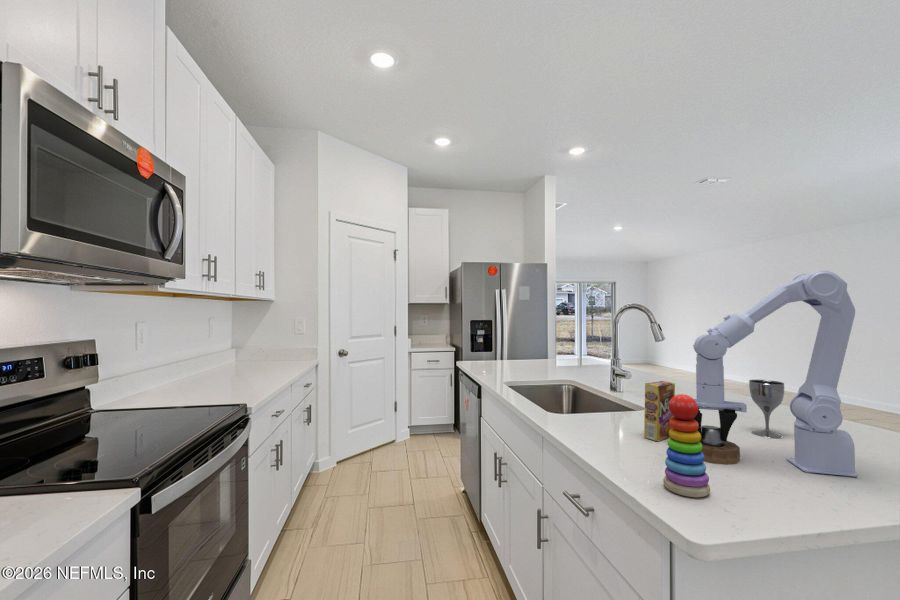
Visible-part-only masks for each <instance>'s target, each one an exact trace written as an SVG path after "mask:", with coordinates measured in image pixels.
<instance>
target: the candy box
mask: <svg viewBox="0 0 900 600" xmlns="http://www.w3.org/2000/svg"><path fill="white" fill-rule="evenodd" d="M675 388H676V382H673V381H668V380H667V381H666V380H665V381H664V380H661V381H654V382H648V383H644V422H643V423H644V424H643V425H644V430H643V431H644V434H643V436H644V437H643V438H644V439H647V440H649V441H654V442H660V441H662V440H663V441H664V440H666V439H667V440H668V439H669V438H670V435H669V430H670V429H671V428H672V427H671V426H670V424H669V421H670V419H671V418H673V417H674V416H673V415H672V414H671V412H670V410H669V401H670V399H671V398H672V397H674V396H675V395H676V389H675Z"/></svg>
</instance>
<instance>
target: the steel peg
mask: <svg viewBox="0 0 900 600" xmlns="http://www.w3.org/2000/svg"><path fill="white" fill-rule="evenodd" d="M701 431H702V444H703V445H707V446H711V447H721V428H720V426H719V427H718V426H714V425H707V424H706V425H701Z"/></svg>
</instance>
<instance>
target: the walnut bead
mask: <svg viewBox="0 0 900 600" xmlns="http://www.w3.org/2000/svg"><path fill="white" fill-rule="evenodd" d="M700 442H701V444H702V440H700ZM740 448H741V447H740V446H739V445H738V444H736V443H734V442H732V441H728V440H727V442H723V441H722V440H721V447H711V446H707V445H703V444H702V450H701V452H702V453H703V454H704V461H703V462H704V463H705V462H706V463H710V464H716V465H718V464H719V465H735V464H738V463H739V462H740V461H741V449H740Z"/></svg>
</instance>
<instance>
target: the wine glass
mask: <svg viewBox="0 0 900 600" xmlns="http://www.w3.org/2000/svg"><path fill="white" fill-rule="evenodd" d="M748 385H749V394H750V397H751V399H752V401H753V403H754V404H755V405H757V407H758V408H759V409H760V410H761V411H762V414H763V416H764V417H763V418H764V422H765V428H764V430H753V431H752V432H751V433H752V435H756V436H758V437H762V438H767V437H768V439H782V438H781V437H782V436H783V435H782V434H780V433H777V432H773V431H771V430H770V417H771V414H772V413H773V412H774V410H776V409H777V408H778V407H779V406H780V405H781V404H782V402H783V400H784V396H785V383H784V382H781V381H777V380H770V379H769V380H768V379H749V380H748Z"/></svg>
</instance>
